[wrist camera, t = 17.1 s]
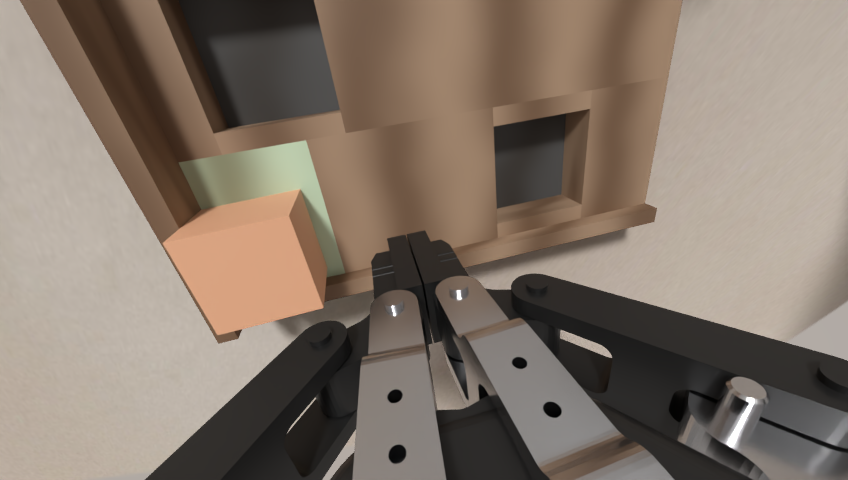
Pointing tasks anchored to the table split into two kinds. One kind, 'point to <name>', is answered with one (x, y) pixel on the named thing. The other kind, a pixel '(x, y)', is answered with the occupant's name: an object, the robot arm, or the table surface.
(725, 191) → the table surface
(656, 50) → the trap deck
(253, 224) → the terracotta block
